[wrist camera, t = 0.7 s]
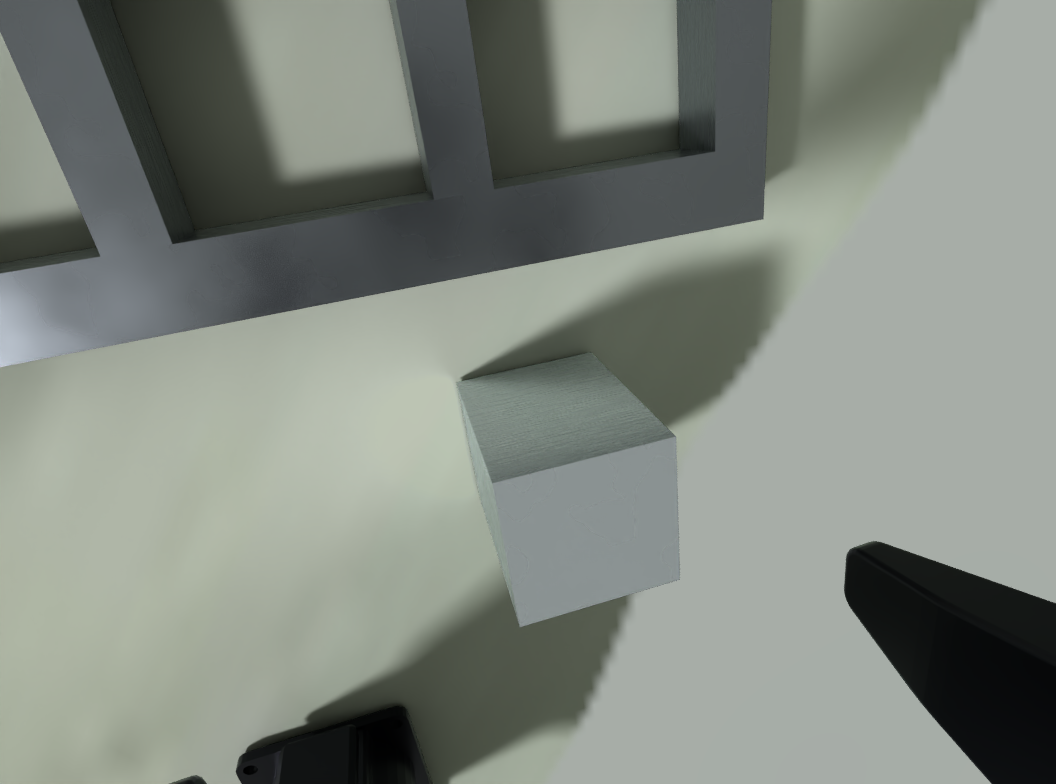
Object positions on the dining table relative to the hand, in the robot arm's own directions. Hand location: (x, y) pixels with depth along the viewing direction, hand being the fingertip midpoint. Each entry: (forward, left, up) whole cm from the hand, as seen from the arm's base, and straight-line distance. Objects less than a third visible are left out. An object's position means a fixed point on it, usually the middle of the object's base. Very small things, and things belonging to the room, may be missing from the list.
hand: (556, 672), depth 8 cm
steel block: (-3, -2, -12) cm, 12 cm away
